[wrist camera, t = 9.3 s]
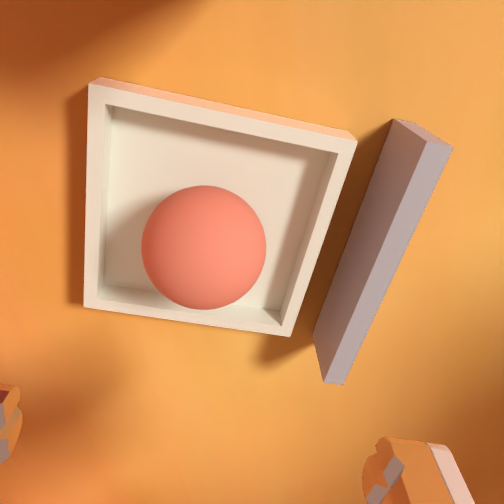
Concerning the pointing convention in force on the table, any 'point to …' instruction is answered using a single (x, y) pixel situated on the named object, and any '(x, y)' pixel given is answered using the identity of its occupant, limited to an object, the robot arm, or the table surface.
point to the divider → (377, 243)
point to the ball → (203, 247)
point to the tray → (207, 174)
